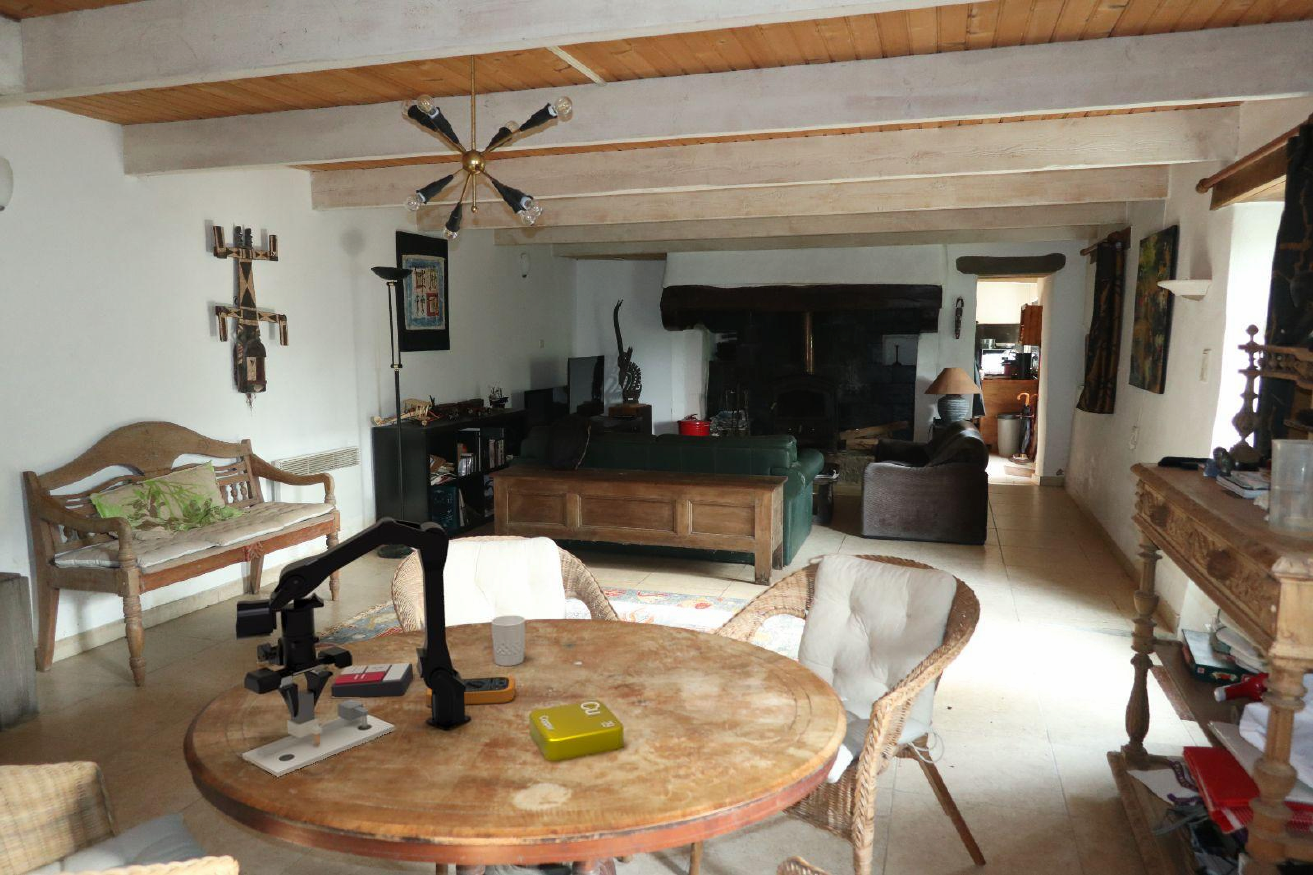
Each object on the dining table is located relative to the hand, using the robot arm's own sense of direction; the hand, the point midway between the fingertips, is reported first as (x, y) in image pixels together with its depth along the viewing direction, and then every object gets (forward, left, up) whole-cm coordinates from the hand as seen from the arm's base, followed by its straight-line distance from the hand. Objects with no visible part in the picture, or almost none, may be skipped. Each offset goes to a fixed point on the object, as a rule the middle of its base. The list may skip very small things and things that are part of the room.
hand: (302, 713), depth 166 cm
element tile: (-39, -32, -7) cm, 51 cm away
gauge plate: (-2, -2, -6) cm, 7 cm away
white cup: (+3, -54, -6) cm, 54 cm away
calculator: (+14, -25, -7) cm, 29 cm away
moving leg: (-2, 0, -5) cm, 5 cm away
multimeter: (-8, -34, -7) cm, 35 cm away
